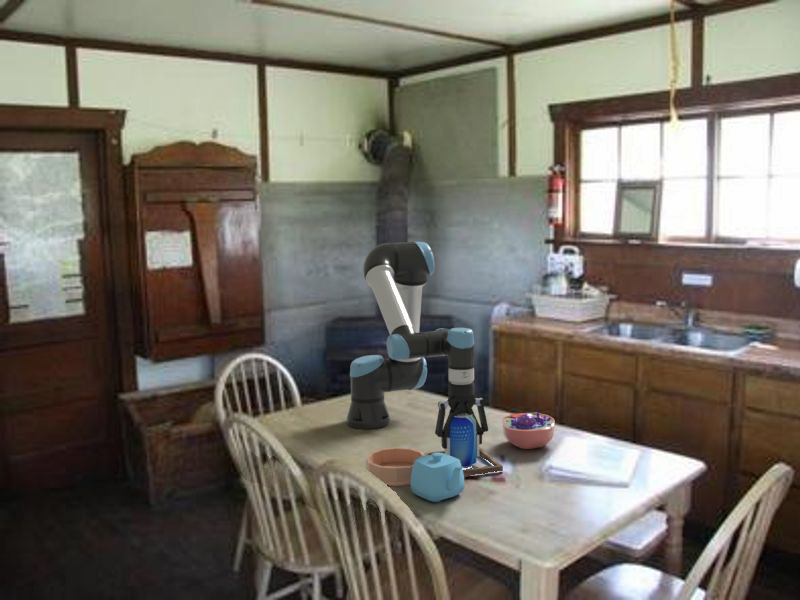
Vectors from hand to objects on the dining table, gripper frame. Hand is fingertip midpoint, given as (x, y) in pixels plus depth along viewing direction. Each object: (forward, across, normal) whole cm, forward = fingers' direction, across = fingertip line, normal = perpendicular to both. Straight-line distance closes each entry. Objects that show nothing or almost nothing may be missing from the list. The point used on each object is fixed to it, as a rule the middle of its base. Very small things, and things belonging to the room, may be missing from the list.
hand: (462, 456), depth 225 cm
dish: (+3, -20, 0) cm, 20 cm away
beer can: (+3, 0, 0) cm, 3 cm away
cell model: (+3, +26, +10) cm, 28 cm away
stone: (+3, +3, -6) cm, 7 cm away
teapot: (+3, -13, -19) cm, 24 cm away
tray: (+3, 0, 0) cm, 3 cm away
